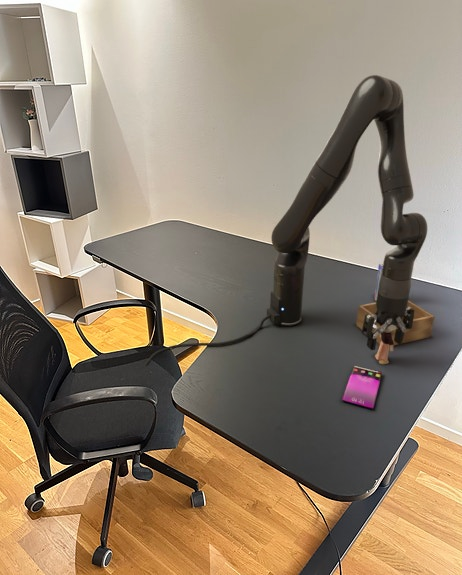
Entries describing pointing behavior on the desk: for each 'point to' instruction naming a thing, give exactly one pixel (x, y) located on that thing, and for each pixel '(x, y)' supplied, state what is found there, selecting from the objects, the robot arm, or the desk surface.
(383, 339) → the grandmother figurine
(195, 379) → the desk surface
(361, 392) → the smartphone
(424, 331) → the birch box
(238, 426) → the desk surface
